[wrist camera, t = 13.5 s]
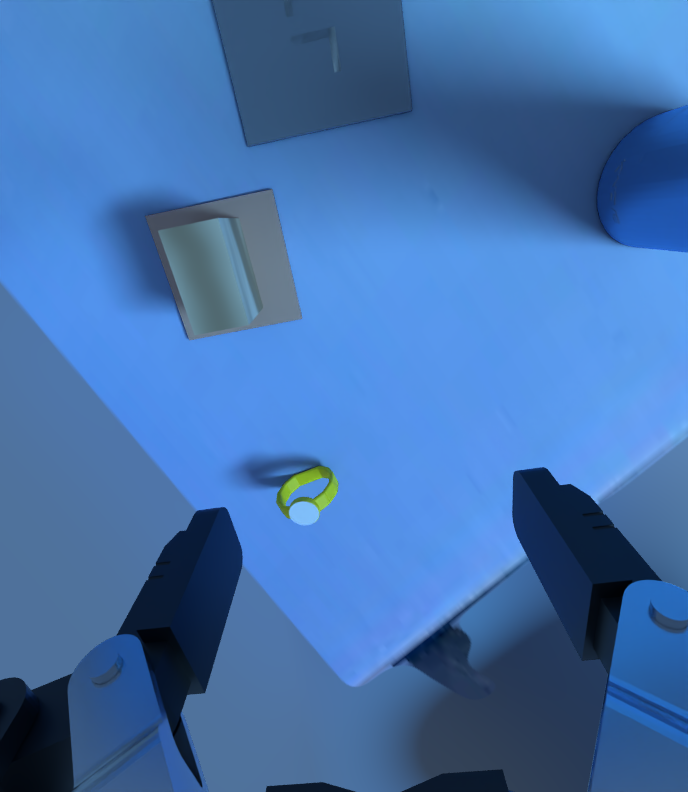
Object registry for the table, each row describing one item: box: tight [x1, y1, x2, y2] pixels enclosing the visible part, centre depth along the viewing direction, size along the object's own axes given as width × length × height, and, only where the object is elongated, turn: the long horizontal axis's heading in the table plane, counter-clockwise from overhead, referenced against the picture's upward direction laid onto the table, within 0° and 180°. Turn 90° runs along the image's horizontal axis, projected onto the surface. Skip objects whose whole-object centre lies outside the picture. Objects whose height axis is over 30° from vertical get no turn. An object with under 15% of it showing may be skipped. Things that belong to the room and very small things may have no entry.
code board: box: [212, 0, 412, 147], centre depth 26 cm, size 12×12×1 cm
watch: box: [276, 466, 338, 525], centre depth 38 cm, size 6×3×6 cm, turn 113°
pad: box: [145, 189, 302, 340], centre depth 32 cm, size 10×10×1 cm
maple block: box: [158, 218, 263, 335], centre depth 29 cm, size 4×7×6 cm, turn 11°
